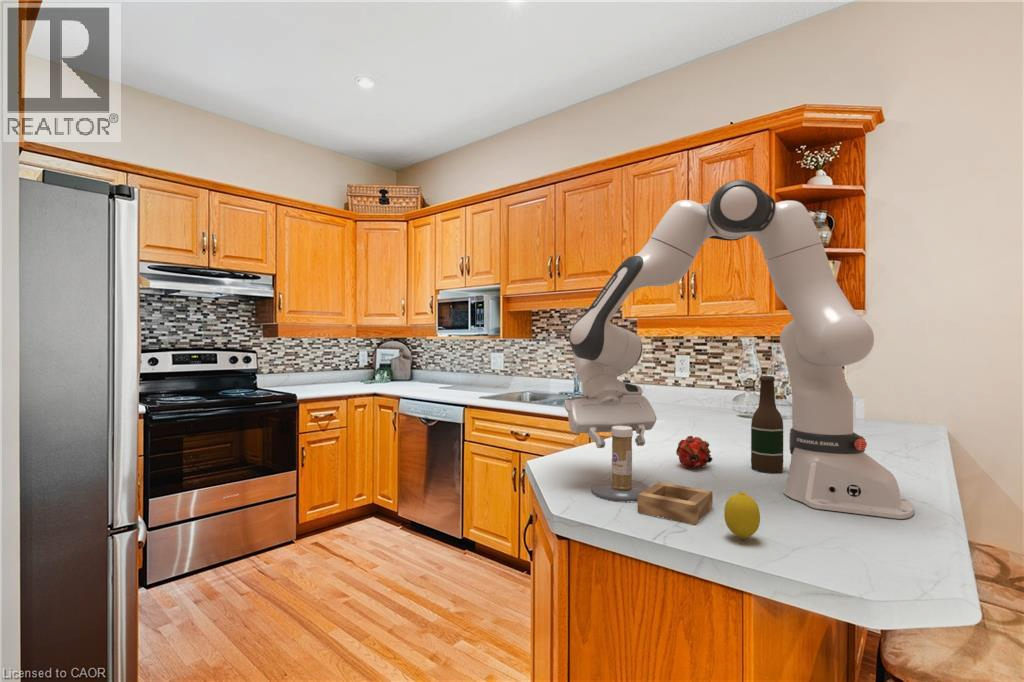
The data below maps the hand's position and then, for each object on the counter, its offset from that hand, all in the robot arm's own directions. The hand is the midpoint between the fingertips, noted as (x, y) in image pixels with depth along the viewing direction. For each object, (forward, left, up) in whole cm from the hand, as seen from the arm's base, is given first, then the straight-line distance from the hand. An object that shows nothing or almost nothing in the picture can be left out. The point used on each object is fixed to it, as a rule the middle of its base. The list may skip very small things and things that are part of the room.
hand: (621, 445), depth 113 cm
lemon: (-28, +12, -11) cm, 32 cm away
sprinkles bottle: (0, 0, -10) cm, 9 cm away
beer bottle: (-22, -40, -11) cm, 47 cm away
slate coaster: (0, 0, -10) cm, 10 cm away
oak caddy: (-14, +4, -10) cm, 18 cm away
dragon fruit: (-6, -32, -11) cm, 34 cm away
